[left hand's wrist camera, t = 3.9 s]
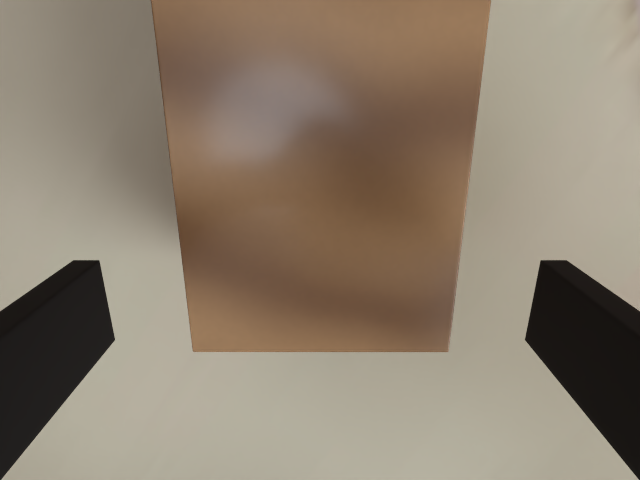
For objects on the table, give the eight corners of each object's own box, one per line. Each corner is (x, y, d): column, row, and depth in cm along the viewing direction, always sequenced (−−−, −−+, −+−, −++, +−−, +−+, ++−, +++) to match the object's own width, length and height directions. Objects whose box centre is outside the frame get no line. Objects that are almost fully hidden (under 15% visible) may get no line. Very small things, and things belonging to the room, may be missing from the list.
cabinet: (208, -131, 19) (111, -324, 10) (433, -131, 19) (531, -325, 10) (236, 263, 26) (192, 352, 17) (404, 263, 26) (448, 352, 17)
